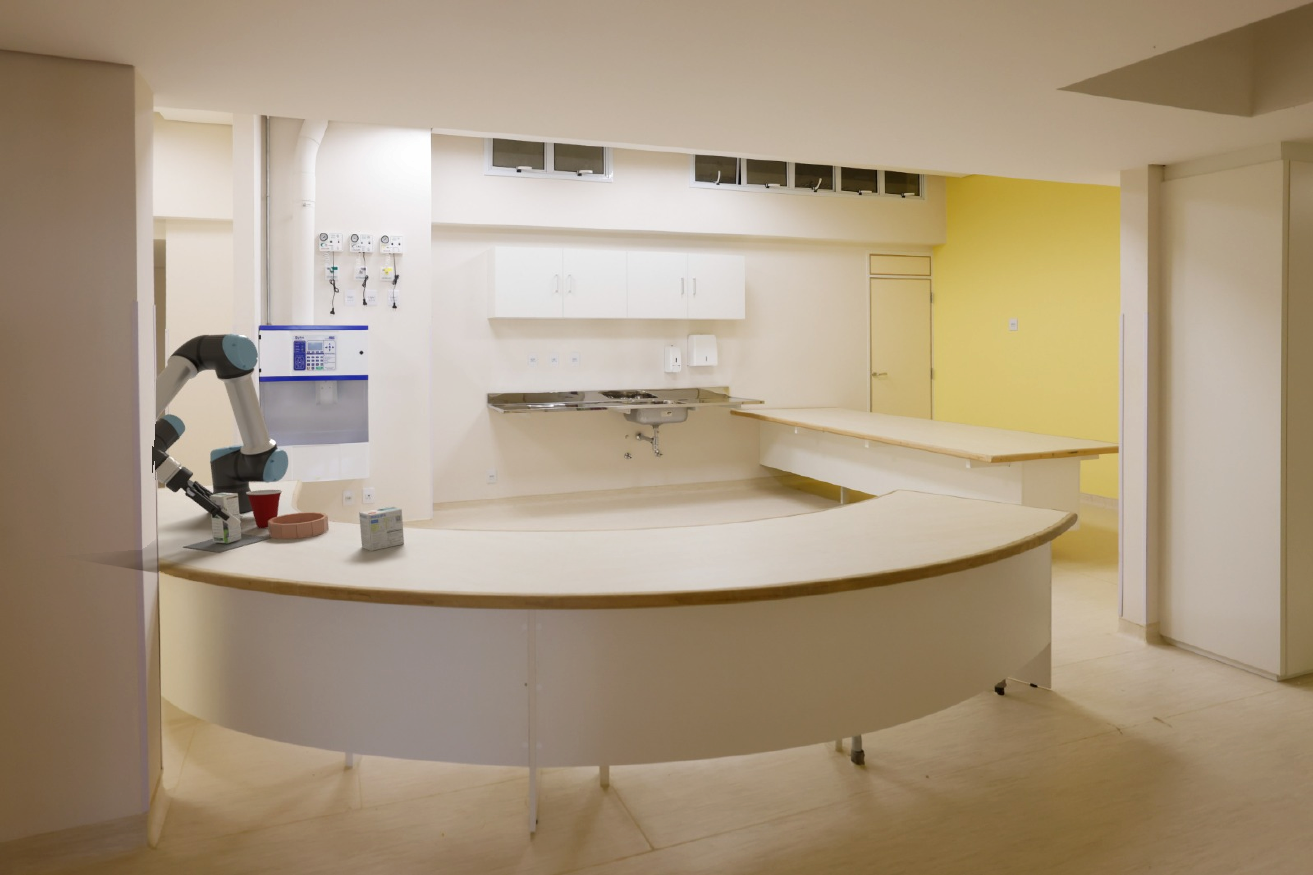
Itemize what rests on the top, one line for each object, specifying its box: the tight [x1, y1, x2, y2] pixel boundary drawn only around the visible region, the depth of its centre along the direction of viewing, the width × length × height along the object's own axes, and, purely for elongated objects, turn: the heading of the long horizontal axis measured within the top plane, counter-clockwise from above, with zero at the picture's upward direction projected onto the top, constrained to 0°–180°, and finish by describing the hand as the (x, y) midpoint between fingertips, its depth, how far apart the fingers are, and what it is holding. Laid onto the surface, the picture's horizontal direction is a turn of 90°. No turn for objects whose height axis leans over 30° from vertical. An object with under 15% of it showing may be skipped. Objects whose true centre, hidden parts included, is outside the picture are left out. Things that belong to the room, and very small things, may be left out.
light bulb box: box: [358, 506, 405, 552], centre depth 254 cm, size 11×7×11 cm, turn 134°
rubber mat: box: [183, 533, 272, 553], centre depth 262 cm, size 18×16×1 cm
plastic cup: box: [246, 489, 283, 529], centre depth 282 cm, size 11×11×12 cm
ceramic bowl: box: [267, 511, 330, 540], centre depth 273 cm, size 17×17×4 cm
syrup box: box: [210, 493, 242, 543], centre depth 261 cm, size 6×6×14 cm
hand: (238, 522), depth 263 cm, fingers closed on syrup box, 8 cm apart
